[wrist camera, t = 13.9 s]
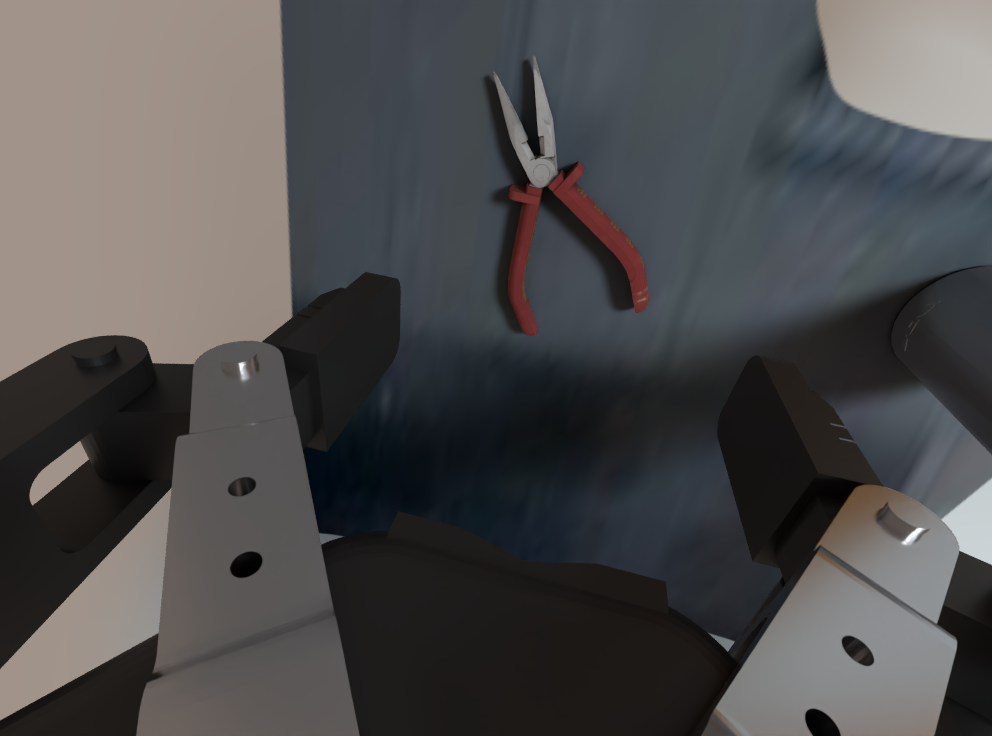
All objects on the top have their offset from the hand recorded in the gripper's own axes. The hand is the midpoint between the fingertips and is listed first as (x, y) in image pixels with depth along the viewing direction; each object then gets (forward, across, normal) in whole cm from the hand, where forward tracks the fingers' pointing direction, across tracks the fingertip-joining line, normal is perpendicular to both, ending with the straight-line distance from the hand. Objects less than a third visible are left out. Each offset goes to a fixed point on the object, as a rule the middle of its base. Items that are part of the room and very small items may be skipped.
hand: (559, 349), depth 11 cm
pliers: (+29, 0, +5) cm, 30 cm away
